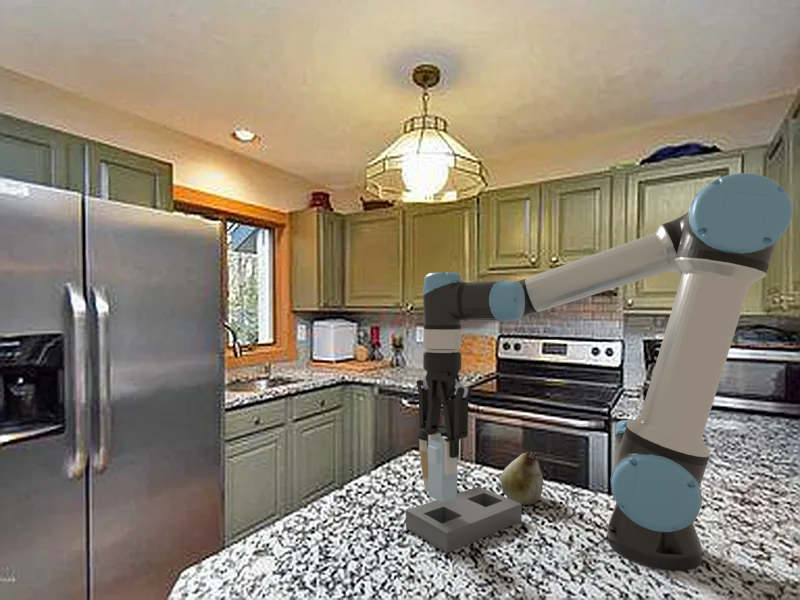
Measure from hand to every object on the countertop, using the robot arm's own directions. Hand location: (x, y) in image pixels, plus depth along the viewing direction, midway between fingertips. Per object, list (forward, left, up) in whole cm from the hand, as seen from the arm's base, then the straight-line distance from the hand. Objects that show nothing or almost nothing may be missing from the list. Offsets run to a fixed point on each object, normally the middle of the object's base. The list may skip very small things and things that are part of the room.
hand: (442, 470), depth 88 cm
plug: (0, 0, -5) cm, 5 cm away
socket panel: (0, -6, -13) cm, 14 cm away
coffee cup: (+18, -15, -13) cm, 26 cm away
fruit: (+1, -26, -13) cm, 29 cm away
